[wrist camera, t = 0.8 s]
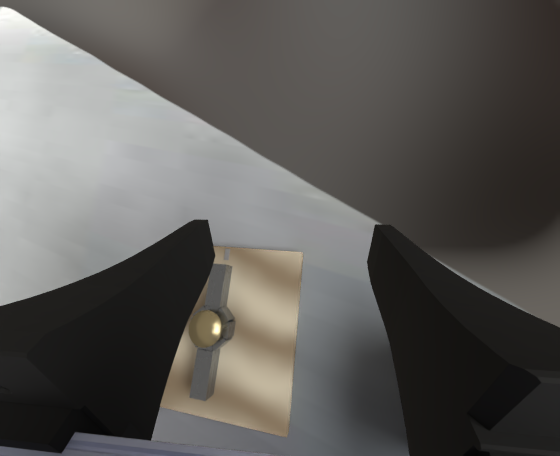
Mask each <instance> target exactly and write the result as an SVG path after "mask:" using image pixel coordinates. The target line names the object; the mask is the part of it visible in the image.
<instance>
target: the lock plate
mask: <svg viewBox="0 0 560 456" xmlns="http://www.w3.org/2000/svg"><path fill="white" fill-rule="evenodd" d="M213 247H214V251H215V259H214V264H226V265H230V266H233V267H232V273H231V280H230V287H229V294H228V300H227V307H228V308H229V310H230V311H231V313H232V314H233V316H234V317H235V319H234V320H233V321H236V324H235V331H234V336H233V337H232V339H231V340H230V341H229V342H228V343H227V344H225V345H224V346H223V347H222V348H220V355H219V362H218V368H217V375H216V382H215V389H214V395H212V396H211V397H210V398H209V399H207V400H206V401H202V400H197V399H193V398H189V395H190V389H191V383H192V377H193V371H194V365H195V359H196V353H197V348H198V347H201V348H206V347H210V346H212V345H214V344H215V343H216V342H217V341H218V340H219V338H220V336H221V333H222V322H221V319H220V317H219V316H218V315H217V314H216V313H215V312H213V311H211V310H203V311H200V312H198V313H196V314H195V315H194V316H193V314H194V313H195V312H196V311H197V310H199V309H200V308H201V307H202V306H203V305H205V300H206V294H207V288H208V282H209V277H208V280H207V282H206V284H205V286H204V288H203V290H202V292H201V294H200V297H199V299H198V301H197V303H196V305H195V307H194V309H193V311H192V313H191V315H190V317H189V320H188V322H187V324H186V327H185V329H184V332H183V335H182V338H181V341H180V343H179V346H178V349H177V352H176V355H175V358H174V361H173V364H172V367H171V370H170V373H169V377H168V380H167V384H166V387H165V390H164V394H163V397H162V400H161V404H160V407H163V408H167V409H171V410H175V411H179V412H184V413H188V414H192V415H196V416H200V417H204V418H208V419H212V420H217V421H221V422H225V423H229V424H233V425H237V426H241V427H245V428H250V429H254V430H258V431H262V432H266V433H270V434H274V435H278V436H282V437H287V435H288V432H289V422H290V410H291V398H292V385H293V373H294V361H295V349H296V337H297V324H298V312H299V300H300V288H301V275H302V263H303V253H302V252H291V251H276V250H262V249H248V248H234V247H219V246H213ZM209 276H210V275H209ZM191 317H193V318H192V319H191ZM190 320H191V321H190ZM188 332H189V333H188ZM194 344H195V345H196V346H198V347H197V348H196V347H195V345H194Z"/></svg>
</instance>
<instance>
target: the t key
mask: <svg viewBox="0 0 560 456" xmlns="http://www.w3.org/2000/svg"><path fill="white" fill-rule="evenodd" d="M232 267H233V266H230V265H226V264H214V263H213V266H212V269H211V272H210V276H209V282H208V288H207V294H206V300H205V305H203V306H202V307H201V308H200V309H199V310H197V311H196V312H195V313H194V314H193V316H194V315H195V314H196V313H198V312H200V311H203V310H211V311H213V312H215V313H216V314H217V315H218V316H219V317H220V319H221V322H222V333H221V336H220V338H219V340H218V341H217V342H216V343H215V344H214V345H212V346H210V347H206V348H201V347H198V346H196V345H195V344H194V345H195V347H196V348H197V347H198V348H197V353H196V359H195V365H194V371H193V377H192V383H191V389H190V395H189V398H193V399H197V400H202V401H206V400H207V399H209V398H210V397H211V396H212V395H214V389H215V382H216V375H217V368H218V362H219V355H220V348H222V347H223V346H224V345H225V344H227V343H228V342H229V341H230V340H231V339H232V337H233V336H234V331H235V324H236V321H233V320H234V319H235V317H234V316H233V314H232V313H231V311H230V310H229V308H228V307H227V300H228V294H229V287H230V280H231V273H232ZM192 318H193V317H191V319H192ZM190 321H191V320H190ZM188 333H189V332H188Z"/></svg>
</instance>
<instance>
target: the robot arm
mask: <svg viewBox="0 0 560 456" xmlns="http://www.w3.org/2000/svg"><path fill="white" fill-rule="evenodd" d="M214 259H215V251H214V247H213V242H212V237H211V233H210V228H209V223H208V220H193V221H191V222H189V223H187V224H186V225H184V226H182V227H181V228H179V229H177V230H176V231H174V232H173V233H171V234H169V235H168V236H166V237H165V238H163V239H161V240H160V241H158V242H157V243H155V244H153V245H151V246H150V247H148V248H146V249H145V250H143V251H141V252H139V253H138V254H136V255H134V256H132V257H130V258H128V259H126V260H124V261H123V262H120V263H118V264H116V265H114V266H112V267H110V268H108V269H106V270H103V271H101V272H99V273H96V274H94V275H91V276H89V277H86V278H84V279H82V280H79V281H77V282H74V283H72V284H69V285H66V286H63V287H61V288H58V289H55V290H52V291H49V292H46V293H43V294H40V295H37V296H34V297H31V298H27V299H24V300H21V301H17V302H14V303H10V304H6V305H3V306H0V456H282V455H274V454H265V453H256V452H247V451H238V450H229V449H220V448H211V447H203V446H194V445H185V444H176V443H167V442H158V441H151V438H152V434H153V430H154V427H155V423H156V419H157V415H158V412H159V408H160V404H161V400H162V397H163V394H164V390H165V387H166V384H167V380H168V377H169V373H170V370H171V367H172V364H173V361H174V358H175V355H176V352H177V349H178V346H179V343H180V341H181V338H182V335H183V332H184V329H185V327H186V324H187V322H188V320H189V317H190V315H191V313H192V311H193V309H194V307H195V305H196V303H197V301H198V299H199V297H200V294H201V292H202V290H203V288H204V286H205V284H206V282H207V280H208V277H209V275H210V272H211V269H212V266H213V263H214ZM367 264H368V271H369V276H370V282H371V285H372V289H373V292H374V295H375V298H376V301H377V304H378V307H379V310H380V313H381V316H382V319H383V322H384V325H385V328H386V332H387V335H388V339H389V343H390V347H391V352H392V357H393V361H394V366H395V371H396V376H397V381H398V387H399V392H400V397H401V403H402V409H403V415H404V421H405V427H406V433H407V440H408V447H409V454H410V456H560V328H559V327H557V326H555V325H553V324H550V323H548V322H546V321H544V320H542V319H539V318H537V317H535V316H533V315H531V314H529V313H526V312H524V311H522V310H520V309H518V308H516V307H514V306H512V305H510V304H508V303H506V302H504V301H502V300H500V299H499V298H497V297H495V296H493V295H491V294H489V293H487V292H485V291H484V290H482V289H480V288H478V287H477V286H475V285H473V284H472V283H470V282H468V281H467V280H465V279H463V278H462V277H460V276H458V275H457V274H455V273H454V272H452V271H451V270H449V269H448V268H446V267H445V266H444V265H442V264H441V263H439V262H438V261H436V260H435V259H434V258H432V257H431V256H430V255H428V254H427V253H426V252H424V251H423V250H422V249H420V248H419V247H418V246H416V245H415V244H414V243H413V242H412V241H410V240H409V239H408V238H407V237H405V236H404V235H403V234H402V233H400V232H399V231H398V230H397V229H395V228H394V227H393V226H391V225H375V228H374V232H373V237H372V242H371V246H370V251H369V256H368V260H367Z"/></svg>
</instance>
